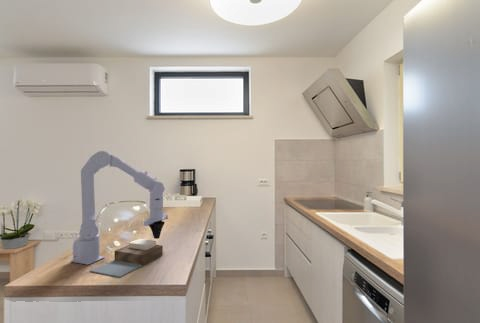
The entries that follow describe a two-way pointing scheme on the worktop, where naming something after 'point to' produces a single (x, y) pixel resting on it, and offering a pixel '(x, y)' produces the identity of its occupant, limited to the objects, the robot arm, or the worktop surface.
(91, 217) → the robot arm
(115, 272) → the mat
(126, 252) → the brown flat wooden block
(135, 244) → the light grey flat block
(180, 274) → the worktop surface
